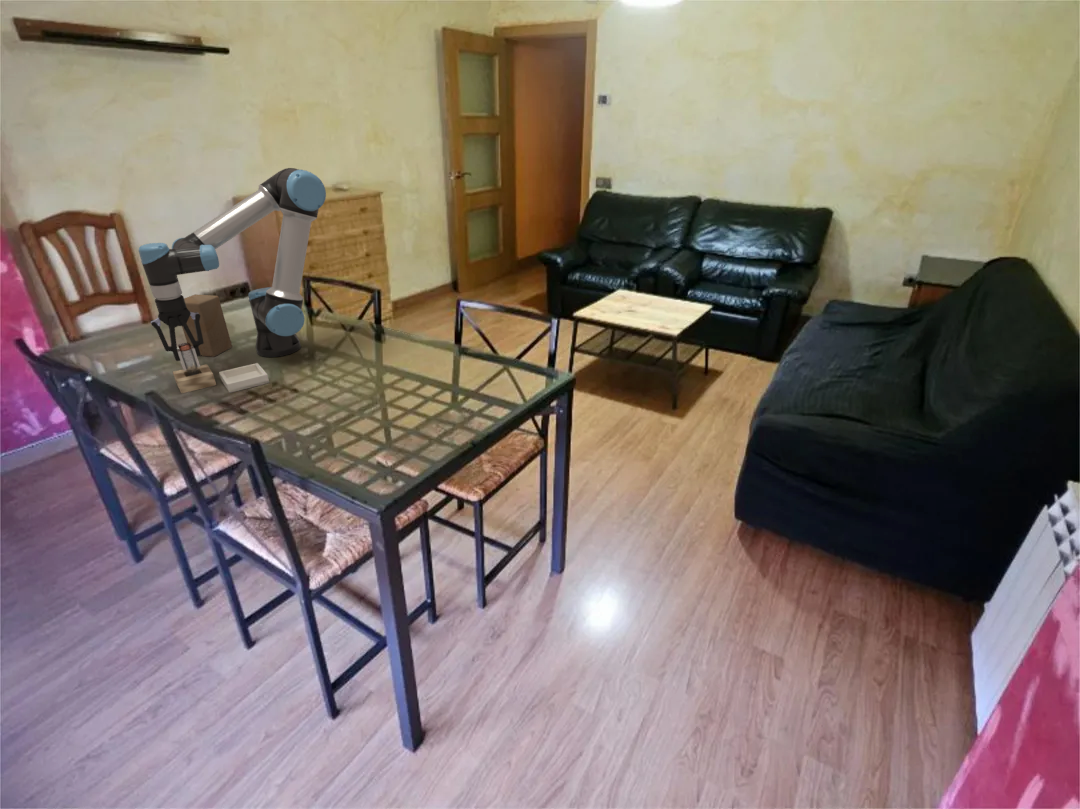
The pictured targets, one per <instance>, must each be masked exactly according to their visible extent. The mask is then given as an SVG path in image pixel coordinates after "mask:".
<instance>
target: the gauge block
mask: <svg viewBox="0 0 1080 809" xmlns="http://www.w3.org/2000/svg"><path fill="white" fill-rule="evenodd" d="M197 368H198V367H197ZM198 371H199V374H197V375H192V376H188V374H187V371H184V370H183V368H182V369H179V370H178V369H177V370H174V371H172V374H173V377H174V380H175V381H174V382H175V383H176V385H177V387H178V390H179V392H180V394H185V393H186V394H187V393H190V392H193V391H198V390H202V389H205V388H206V389H207V388H210V387H214V386H217V382H216V379H215V376H214V373H213V372H212V370H211V369H210V367H209V365H208V364H207V363H206V364H200V367H199V368H198Z"/></svg>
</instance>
